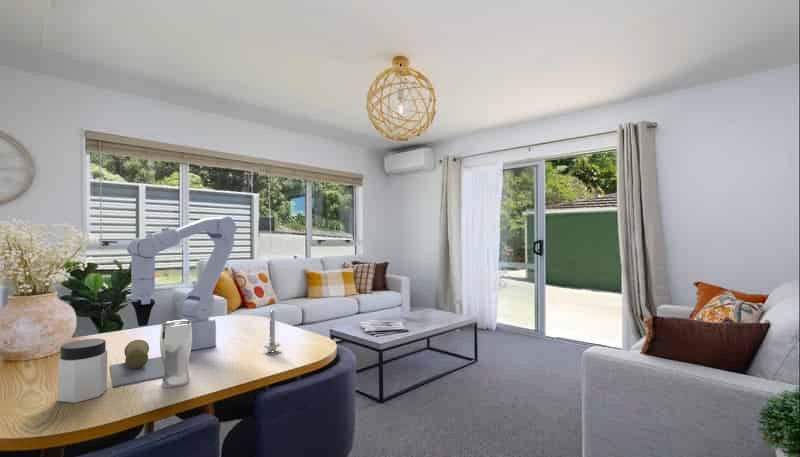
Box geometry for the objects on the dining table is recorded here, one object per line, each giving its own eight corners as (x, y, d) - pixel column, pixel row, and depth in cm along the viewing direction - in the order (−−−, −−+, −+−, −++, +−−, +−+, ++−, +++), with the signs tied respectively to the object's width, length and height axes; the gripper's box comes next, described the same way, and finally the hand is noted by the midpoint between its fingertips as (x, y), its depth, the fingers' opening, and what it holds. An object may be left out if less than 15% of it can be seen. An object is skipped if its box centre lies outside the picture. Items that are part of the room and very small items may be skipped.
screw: (261, 353, 119) (267, 349, 124) (276, 354, 119) (282, 349, 124) (261, 311, 119) (267, 308, 124) (277, 312, 119) (282, 308, 124)
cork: (142, 362, 113) (142, 374, 104) (119, 356, 110) (118, 368, 101) (153, 343, 115) (154, 353, 106) (131, 336, 112) (131, 346, 103)
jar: (102, 384, 95) (102, 336, 95) (111, 393, 90) (112, 342, 90) (54, 396, 88) (54, 344, 88) (61, 407, 83) (61, 351, 83)
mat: (172, 356, 117) (172, 354, 117) (182, 373, 102) (182, 372, 102) (110, 366, 107) (110, 365, 107) (112, 387, 93) (112, 386, 93)
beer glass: (168, 391, 91) (169, 327, 92) (153, 384, 95) (154, 324, 95) (197, 381, 97) (197, 322, 97) (182, 375, 101) (182, 318, 101)
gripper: (124, 277, 115) (124, 322, 115) (128, 282, 104) (128, 332, 104) (152, 275, 120) (152, 319, 120) (158, 280, 108) (158, 328, 108)
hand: (142, 325), depth 112 cm, fingers closed
